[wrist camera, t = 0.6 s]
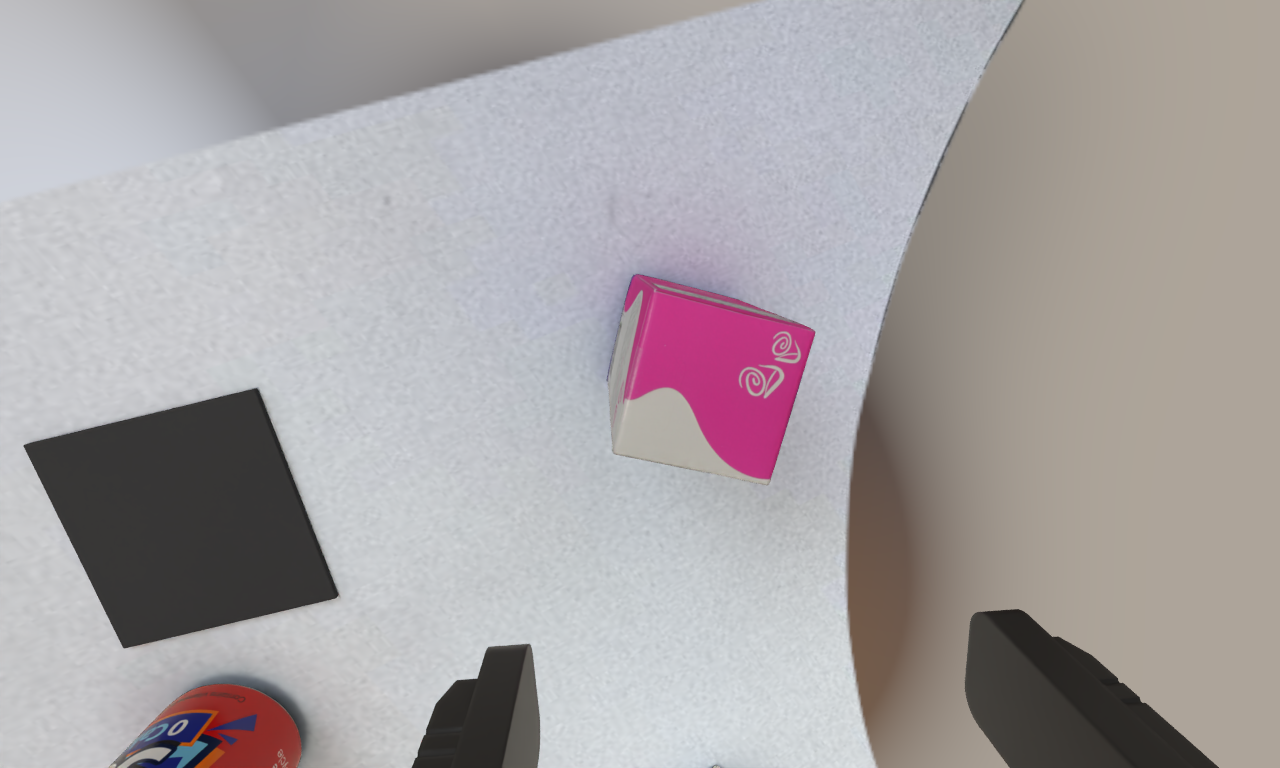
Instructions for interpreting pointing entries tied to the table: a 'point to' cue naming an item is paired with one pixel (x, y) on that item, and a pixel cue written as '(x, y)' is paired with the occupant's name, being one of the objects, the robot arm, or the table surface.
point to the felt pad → (185, 518)
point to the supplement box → (703, 380)
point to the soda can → (217, 733)
